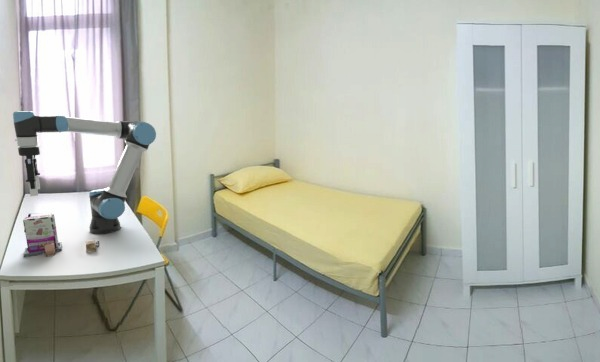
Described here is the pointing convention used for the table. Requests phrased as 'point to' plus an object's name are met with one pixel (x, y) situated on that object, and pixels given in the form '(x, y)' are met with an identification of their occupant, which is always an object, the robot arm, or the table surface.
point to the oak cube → (90, 246)
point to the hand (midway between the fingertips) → (35, 192)
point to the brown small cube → (50, 249)
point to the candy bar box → (40, 232)
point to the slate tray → (41, 251)
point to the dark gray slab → (97, 243)
